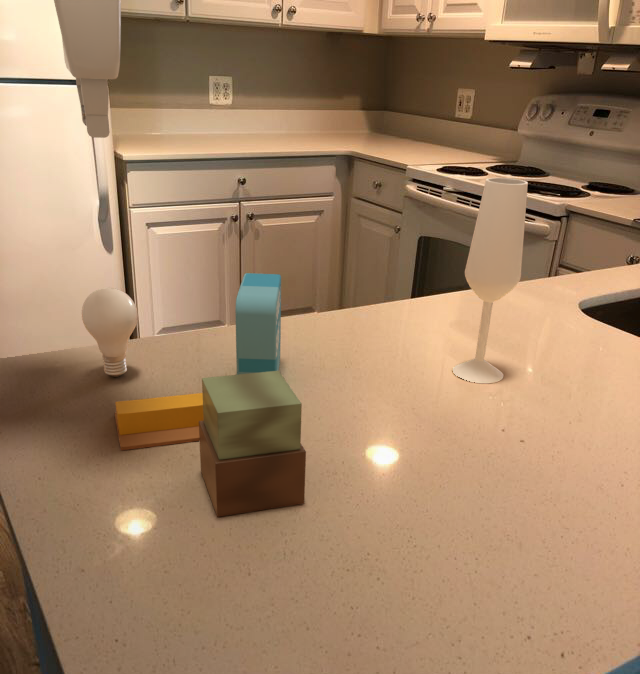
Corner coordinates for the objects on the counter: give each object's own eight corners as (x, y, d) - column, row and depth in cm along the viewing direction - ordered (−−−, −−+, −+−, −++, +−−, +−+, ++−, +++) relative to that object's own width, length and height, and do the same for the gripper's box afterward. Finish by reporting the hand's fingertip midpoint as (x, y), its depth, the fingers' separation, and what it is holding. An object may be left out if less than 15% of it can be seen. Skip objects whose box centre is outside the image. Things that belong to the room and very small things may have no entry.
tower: (217, 517, 62) (213, 415, 57) (200, 471, 68) (196, 376, 64) (304, 503, 64) (307, 404, 60) (280, 460, 71) (281, 368, 66)
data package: (275, 399, 83) (276, 301, 78) (236, 398, 83) (234, 299, 77) (280, 360, 94) (281, 271, 88) (246, 359, 94) (245, 269, 88)
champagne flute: (441, 371, 93) (465, 179, 81) (471, 359, 97) (498, 174, 86) (484, 388, 88) (515, 187, 77) (513, 374, 93) (548, 182, 81)
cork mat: (120, 450, 71) (120, 447, 71) (114, 415, 78) (114, 412, 78) (256, 433, 76) (256, 430, 75) (239, 402, 82) (239, 399, 82)
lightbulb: (102, 390, 84) (92, 300, 78) (80, 372, 88) (69, 286, 83) (151, 378, 87) (144, 291, 82) (128, 361, 91) (120, 278, 86)
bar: (119, 435, 73) (117, 414, 72) (117, 422, 76) (115, 401, 75) (251, 420, 77) (251, 399, 76) (245, 408, 80) (245, 388, 79)
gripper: (37, -41, 66) (57, 120, 72) (34, -70, 49) (60, 144, 55) (107, -36, 68) (121, 121, 74) (128, -62, 51) (143, 144, 57)
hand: (95, 131), depth 65 cm, fingers open, 8 cm apart
